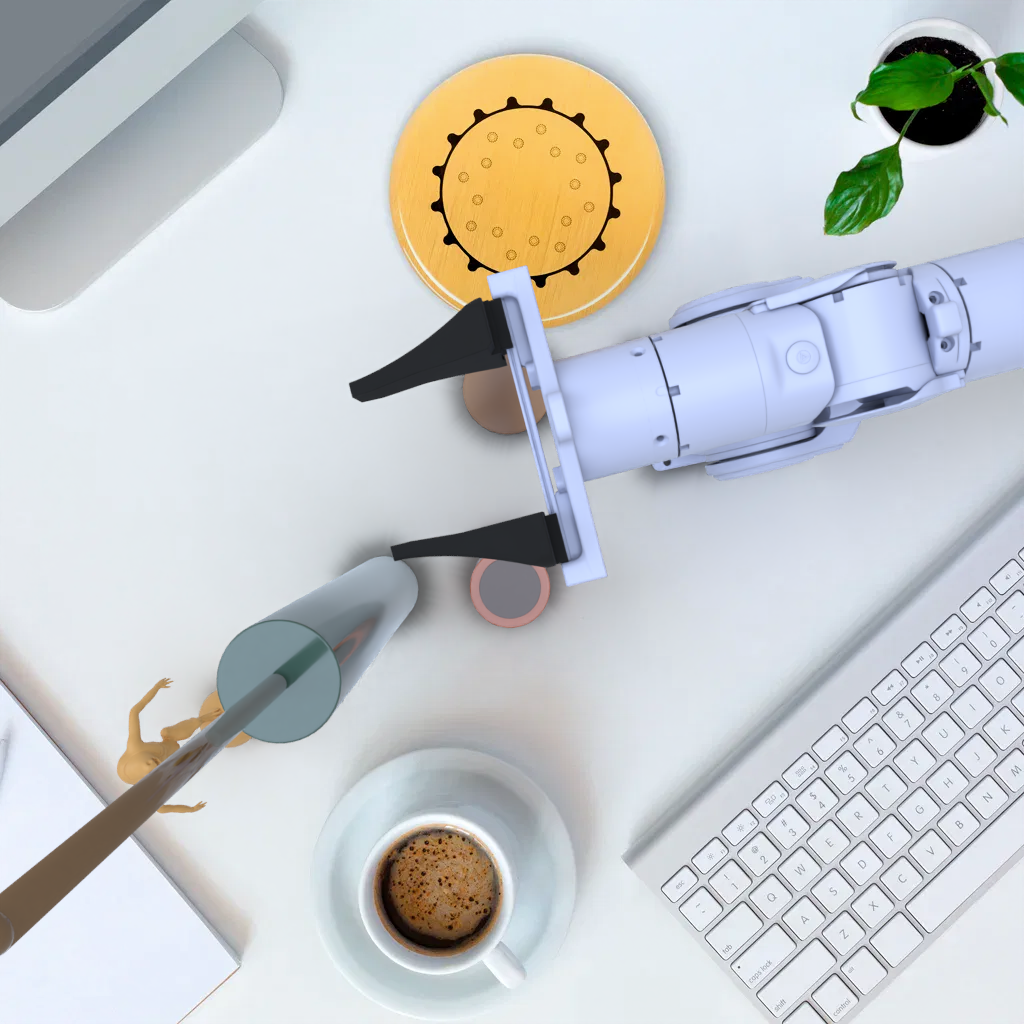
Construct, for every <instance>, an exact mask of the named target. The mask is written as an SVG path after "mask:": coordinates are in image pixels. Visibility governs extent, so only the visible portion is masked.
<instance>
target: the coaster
mask: <svg viewBox="0 0 1024 1024" xmlns="http://www.w3.org/2000/svg"><path fill="white" fill-rule="evenodd" d="M505 358H506V362H507V366H504V367H501V368H496V369H490V370H485V371H479V372H474V373H469V374H465V375H464V378H463V383H462V396H463V401H464V404H465V407H466V410H467V411H468V414H469V415H470V416H471V417H472V419H473V420H474V421H475V422H476V423H477V424H478V425H479V426H481V427H482V428H483V429H486V430H487V431H490V432H492V433H495V434H498V435H515V434H520V433H523V432H527V428H526V425H525V421H524V417H523V413H522V409H521V405H520V401H519V398H518V394H517V390H516V386H515V382H514V378H513V374H512V370H511V367H510V363H509V359H508V355H507V354H506V355H505ZM522 370H523V374H524V378H525V382H526V386H527V390H528V394H529V397H530V401H531V405H532V409H533V413H534V417H535V421H536V424H539V422H540V421H541V419H543V417H544V416H545V415H546V414H547V412H546V408H545V404H544V400H543V396H542V392H541V389H539V390H535V391H533V390H532V388H531V385H530V381H529V377H528V373H527V370H526V368H523V367H522Z"/></svg>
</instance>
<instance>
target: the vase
mask: <svg viewBox="0 0 1024 1024" xmlns="http://www.w3.org/2000/svg"><path fill="white" fill-rule="evenodd" d="M418 597H419V583H418V580H417V577H416V574H415V573H414V571H413V570H412V569H411V567H410V566H409V565H408V564H407V563H406V562H404V561H403V560H399V561H394V559H393V556H389V555H379V556H375V557H372V558H369V559H367V560H366V561H364V562H363V563H361V564H359V565H357V566H355V567H353V568H352V569H349V570H348V571H346V572H344V573H343V574H341V575H339V576H337V577H336V578H333V579H332V580H330V581H328V582H326V583H325V584H323V585H321V586H319V587H317V588H316V589H314V590H312V591H310V592H309V593H307V594H305V595H303V596H301V597H299V598H298V599H296V600H294V601H292V602H291V603H289V604H287V605H285V606H283V607H282V608H280V609H278V610H276V611H274V612H272V613H271V614H269V615H267V616H265V617H264V618H261V619H260V620H258V621H256V622H254V623H253V624H251V625H249V626H248V627H246V628H244V629H243V630H242V631H240V632H239V633H237V634H236V635H235V637H233V639H232V640H230V642H229V643H228V644H227V646H226V647H225V649H224V650H223V652H222V655H221V657H220V660H219V662H218V665H217V666H218V667H217V671H216V690H217V692H218V696H219V700H220V703H221V705H222V707H223V710H224V711H225V712H224V713H222V714H221V715H220V716H219V717H217V718H216V719H215V720H214V721H212V722H211V723H210V724H209V725H208V726H206V727H205V728H204V729H203V730H201V729H200V731H199V732H198V733H197V734H195V735H194V736H193V737H190V738H189V740H188V741H186V742H185V743H184V744H183V745H181V746H180V748H179V749H178V750H177V751H175V752H174V753H173V754H172V755H170V756H169V757H168V758H167V759H166V760H164V761H163V762H162V763H161V764H159V765H158V766H157V767H156V768H154V769H153V770H152V771H151V772H149V773H148V774H147V775H146V776H145V777H143V778H142V779H141V780H140V781H138V782H137V783H136V784H135V785H132V786H131V787H130V788H128V789H127V790H126V791H125V792H123V793H122V794H121V795H120V796H119V797H117V798H116V799H115V800H113V801H112V802H111V803H110V804H109V805H107V806H106V807H105V808H104V809H103V810H101V811H100V812H99V813H98V814H96V815H95V816H94V817H92V819H90V820H89V821H87V822H86V823H85V824H84V825H83V826H82V827H80V828H79V829H78V830H77V831H75V832H74V833H72V835H71V836H69V837H68V838H66V839H65V840H64V841H62V843H60V844H59V845H58V846H57V847H56V848H54V849H53V850H52V851H50V852H49V853H48V854H47V855H45V856H44V857H43V858H41V860H39V861H38V862H36V864H35V865H33V866H32V867H31V868H30V869H28V870H26V872H24V873H23V874H21V876H20V877H18V878H17V879H16V880H15V881H13V882H12V883H11V884H10V885H9V886H7V887H6V888H5V889H3V890H2V891H1V892H0V957H2V956H3V955H4V954H6V953H7V952H8V950H10V949H11V948H12V947H13V946H14V945H15V944H16V943H18V941H19V940H21V939H22V938H23V937H24V936H25V935H26V934H27V933H28V932H30V930H31V929H32V928H33V927H34V926H36V925H37V924H38V923H39V922H40V921H41V920H42V919H43V918H44V917H45V916H46V915H48V913H50V911H52V910H53V909H54V908H55V907H56V906H57V905H58V904H59V903H60V902H61V901H62V900H64V898H65V897H66V896H68V895H69V894H70V893H72V891H73V890H74V889H75V888H76V887H77V886H78V885H79V884H81V883H82V881H84V880H85V879H86V878H87V877H88V876H89V875H90V874H91V873H92V872H93V871H94V870H96V869H97V867H99V866H100V865H101V864H102V863H103V862H104V861H105V860H106V859H107V858H108V857H109V856H110V855H111V854H112V853H114V852H115V851H116V850H117V849H118V848H119V847H120V846H121V845H122V844H123V843H125V841H126V840H127V839H129V837H131V836H132V835H133V834H134V833H135V832H136V831H137V830H139V828H141V826H143V824H144V823H145V822H147V821H148V820H149V819H150V818H151V817H152V816H153V815H154V814H156V812H157V810H158V809H159V808H160V807H161V806H163V805H166V803H167V802H168V801H169V800H170V799H172V797H174V795H175V794H177V793H178V792H179V791H180V790H181V789H182V788H183V787H184V786H185V785H186V784H188V783H189V781H191V779H193V778H194V777H195V776H196V775H197V774H199V772H201V770H202V769H203V768H204V767H205V766H206V765H207V764H209V763H210V762H211V761H213V760H214V758H215V757H216V756H217V755H218V754H220V753H221V752H222V750H224V749H226V748H225V747H226V746H227V745H228V744H229V743H230V742H231V741H232V740H233V739H234V738H235V737H236V736H237V735H238V734H240V733H241V732H244V733H245V734H247V735H249V736H251V737H252V738H253V739H255V740H258V741H260V742H264V743H267V744H268V743H269V744H275V745H277V744H290V743H295V742H299V741H303V740H304V739H307V738H309V737H310V736H312V735H314V734H315V733H317V732H318V731H319V730H320V729H322V728H323V727H324V725H326V724H327V722H328V721H329V720H330V719H331V718H332V716H333V715H334V713H335V712H336V711H337V709H338V708H339V707H340V705H341V704H342V702H343V701H344V700H345V699H346V698H347V697H348V695H349V694H350V693H351V691H352V690H353V688H354V687H355V686H356V685H357V683H358V682H359V680H360V679H361V678H362V676H363V675H364V674H365V673H366V671H367V670H368V668H369V667H370V665H371V664H372V663H373V662H374V661H375V659H376V658H377V656H378V655H379V654H380V652H381V651H382V650H383V649H384V648H385V646H386V644H387V643H388V642H389V641H390V639H391V638H392V637H393V635H394V634H395V633H396V631H397V630H398V629H399V627H400V626H401V625H402V624H403V622H404V621H405V619H406V618H407V617H408V616H409V614H410V613H411V611H412V610H413V609H414V607H415V605H416V603H417V600H418ZM252 738H251V739H252Z"/></svg>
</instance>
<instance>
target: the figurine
mask: <svg viewBox="0 0 1024 1024" xmlns="http://www.w3.org/2000/svg"><path fill="white" fill-rule="evenodd" d="M172 683H174V680H171V678H170V677H169V678H167V677H163V678H161V679H160V680H159V681H157V682H156V683H155V684H154V686H153V687H152V688H150V690H149V691H148V692H146V694H145V695H143V697H142V698H141V699H140V700H139V701H138V702H137V703H136V704H135V705H133V706H132V707H131V708H130V711H129V714H128V737H127V740H126V749H125V751H124V752H123V754H122V755H121V756H120V757H119V759H118V761H117V765H116V773H117V776H118V778H119V779H120V780H121V781H123V783H125V784H127V785H132V786H133V785H135V784H136V783H137V782H138V781H140V780H141V779H142V778H143V777H145V776H146V775H147V774H148V773H149V772H151V771H152V770H153V769H154V768H156V767H157V766H158V765H159V764H161V763H162V762H163V761H164V760H166V759H167V758H168V757H169V756H170V755H172V754H173V753H174V752H175V751H177V750H178V749H179V748H180V747H181V745H180V744H179V743H178V742H180V741H181V742H182V741H185V740H188V739H190V738H192V737H191V736H193V734H194V733H195V732H196V731H197V730H198V729H200V731H201V730H203V729H204V728H205V727H206V726H208V725H209V724H210V723H211V722H212V721H214V720H215V719H216V718H217V717H219V716H220V715H221V714H222V713H224V712H225V711H224V710H223V707H222V705H221V703H220V700H219V696H218V692H217V689H216V690H214V691H213V692H211V693H210V694H209V695H207V697H206V698H205V699H204V700H203V702H202V704H201V706H200V708H199V713H198V716H197V717H190V718H188V719H184V720H183V719H182V720H180V721H178V722H177V723H175V724H173V725H169V726H165V727H163V728H161V730H160V732H159V733H160V737H161V739H162V741H154V740H153V741H144V740H143V739H142V736H141V735H142V734H141V721H140V713H141V712H142V711H144V709H145V708H146V706H147V705H148V704H149V703H150V702H152V700H153V699H154V698H155V697H156V696H157V694H158V692H159V691H160V690H161V689H170V688H171V685H170V684H172ZM251 739H252V737H251V736H249V735H247V734H245V733H244V732H241V733H240V734H238V735H237V736H236V737H235V738H234V739H233V740H232V741H231V742H230V743H229V744H228V745H227V746H226V747H225V748H224V749H233V748H236V747H237V748H238V747H240V746H242V745H245V744H246V743H248V742H249V741H250V740H251ZM207 804H208V801H205V802H203V800H201V801H199V802H198V803H196V804H195V805H194V806H189V805H186V804H164V805H163V806H161V807H160V808H159V809H158V810H157V811H156V812H157V813H159V814H169V813H175V814H176V813H177V814H185V813H186V814H187V813H190V814H191V813H192V814H193V813H195V812H198V811H200V810H202V809H204V808H205V807H206V805H207Z"/></svg>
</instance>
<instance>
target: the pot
mask: <svg viewBox="0 0 1024 1024" xmlns="http://www.w3.org/2000/svg"><path fill="white" fill-rule="evenodd" d="M469 595H470V599H471V603H472V604H473V607H474V609H475V610H476V612H477V613H478V614H479V615H480V616H481V618H482V619H484V620H485V621H487V622H488V623H490V624H492V625H494V626H496V627H500V628H507V629H514V628H521V627H524V626H526V625H529V624H530V623H532V622H533V621H535V620H536V619H537V618H538V617H539V616H540V615H541V614H542V613H543V612H544V610H545V609H546V608H547V605H548V602H549V600H550V597H551V596H550V595H551V579H550V575H549V573H548V571H547V568H545V567H538V566H532V565H526V564H521V563H515V562H508V561H502V560H494V559H485V558H477V561H476V563H475V566H474V568H473V571H472V573H471V576H470V580H469Z"/></svg>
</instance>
